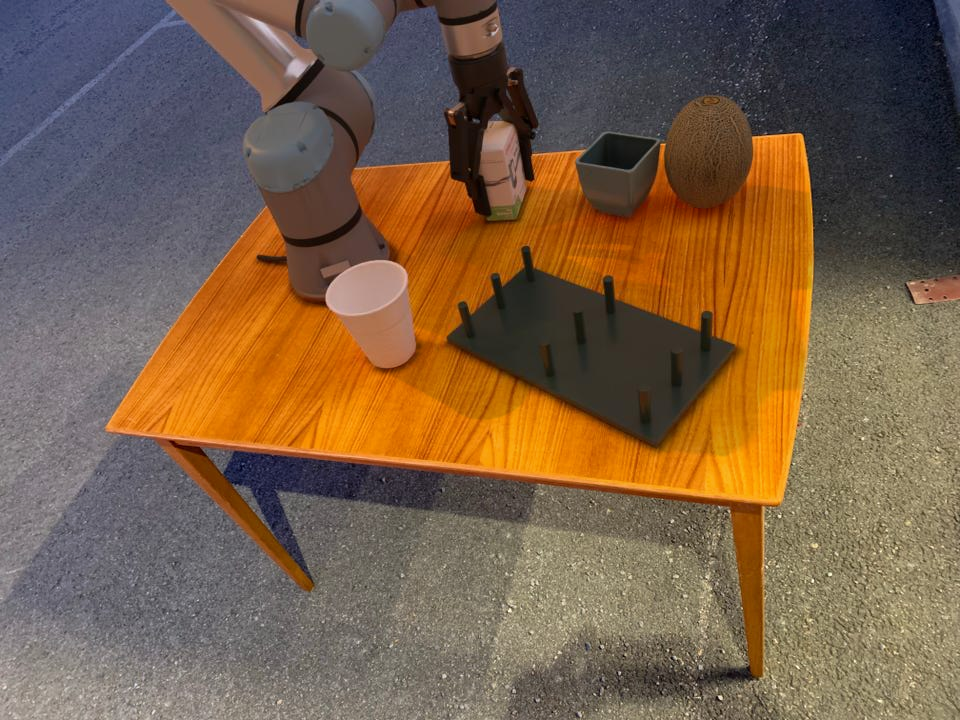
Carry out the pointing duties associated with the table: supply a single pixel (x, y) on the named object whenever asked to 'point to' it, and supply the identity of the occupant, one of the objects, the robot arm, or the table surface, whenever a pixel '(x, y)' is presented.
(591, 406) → the dish rack
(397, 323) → the cup
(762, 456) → the table surface
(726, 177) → the fruit
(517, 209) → the ink box
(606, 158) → the flower pot
